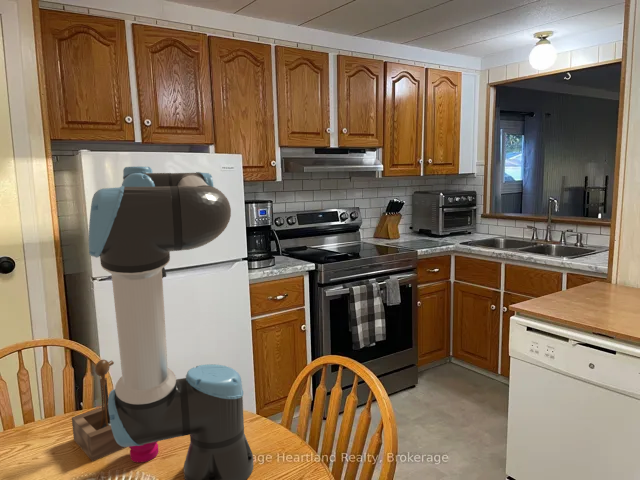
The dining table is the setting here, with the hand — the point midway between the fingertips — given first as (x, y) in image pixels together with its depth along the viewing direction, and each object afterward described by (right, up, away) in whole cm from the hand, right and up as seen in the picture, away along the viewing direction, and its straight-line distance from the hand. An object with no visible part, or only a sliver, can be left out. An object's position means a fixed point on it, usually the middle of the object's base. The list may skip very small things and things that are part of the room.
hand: (146, 298), depth 128 cm
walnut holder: (-4, -34, -13) cm, 37 cm away
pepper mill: (+7, -35, -20) cm, 41 cm away
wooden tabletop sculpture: (-4, -33, -13) cm, 36 cm away
